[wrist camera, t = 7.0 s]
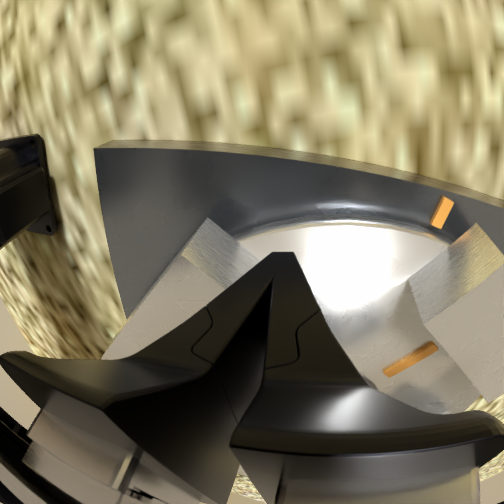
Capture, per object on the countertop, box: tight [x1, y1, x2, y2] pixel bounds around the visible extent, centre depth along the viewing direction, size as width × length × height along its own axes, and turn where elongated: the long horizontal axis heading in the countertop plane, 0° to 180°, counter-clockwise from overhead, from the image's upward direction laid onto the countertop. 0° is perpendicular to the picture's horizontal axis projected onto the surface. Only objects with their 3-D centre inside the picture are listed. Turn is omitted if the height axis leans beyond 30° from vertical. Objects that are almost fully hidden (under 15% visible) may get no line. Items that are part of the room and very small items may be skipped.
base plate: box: [94, 140, 504, 319], centre depth 17 cm, size 25×25×2 cm
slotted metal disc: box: [101, 214, 504, 477], centre depth 15 cm, size 23×23×4 cm
